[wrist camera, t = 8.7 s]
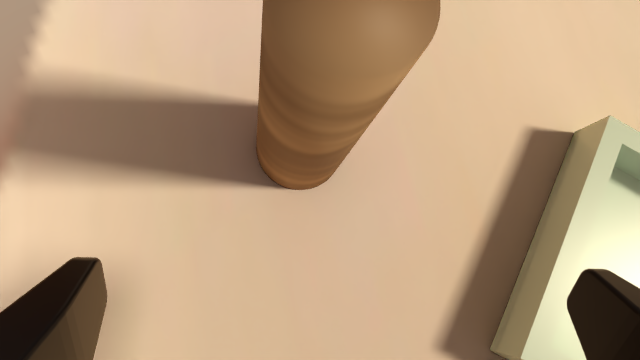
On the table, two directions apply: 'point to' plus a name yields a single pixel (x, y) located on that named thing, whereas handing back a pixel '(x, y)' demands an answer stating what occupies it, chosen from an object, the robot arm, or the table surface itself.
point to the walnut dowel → (330, 78)
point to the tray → (576, 241)
